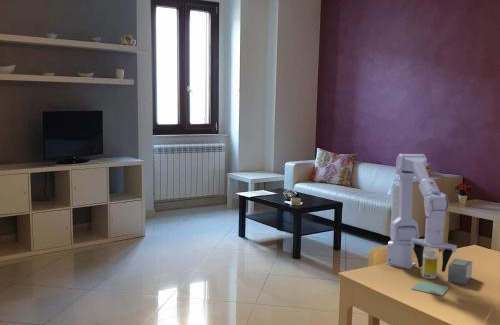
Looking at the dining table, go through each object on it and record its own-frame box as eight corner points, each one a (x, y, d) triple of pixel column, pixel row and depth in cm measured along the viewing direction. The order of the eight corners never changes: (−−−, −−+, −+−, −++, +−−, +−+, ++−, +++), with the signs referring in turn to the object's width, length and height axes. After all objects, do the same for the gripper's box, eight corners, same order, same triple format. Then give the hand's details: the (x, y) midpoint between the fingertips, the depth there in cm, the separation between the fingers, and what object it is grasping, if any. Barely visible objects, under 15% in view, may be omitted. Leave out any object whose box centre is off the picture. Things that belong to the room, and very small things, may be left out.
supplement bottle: (439, 278, 183) (441, 250, 182) (427, 280, 181) (429, 252, 180) (428, 273, 188) (429, 246, 187) (416, 275, 186) (418, 248, 185)
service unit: (447, 281, 180) (448, 264, 179) (454, 273, 188) (455, 257, 188) (465, 285, 177) (466, 267, 176) (471, 277, 185) (472, 260, 184)
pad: (411, 289, 171) (411, 288, 171) (420, 281, 179) (420, 280, 179) (442, 296, 166) (442, 295, 166) (449, 287, 174) (449, 286, 174)
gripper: (409, 228, 171) (406, 267, 173) (454, 235, 163) (451, 276, 164) (415, 224, 177) (413, 262, 178) (459, 231, 169) (456, 270, 170)
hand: (431, 268), depth 172 cm, fingers open, 7 cm apart
